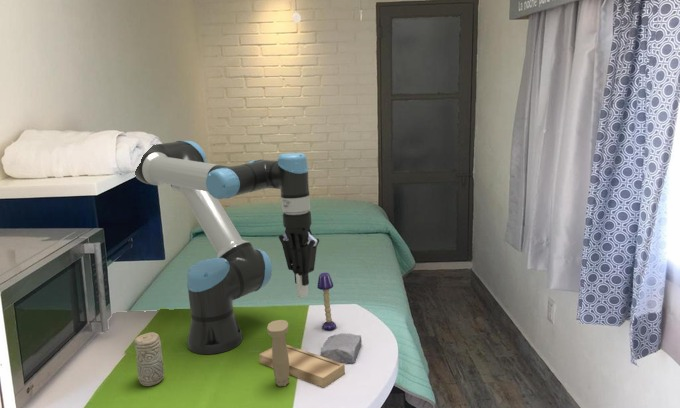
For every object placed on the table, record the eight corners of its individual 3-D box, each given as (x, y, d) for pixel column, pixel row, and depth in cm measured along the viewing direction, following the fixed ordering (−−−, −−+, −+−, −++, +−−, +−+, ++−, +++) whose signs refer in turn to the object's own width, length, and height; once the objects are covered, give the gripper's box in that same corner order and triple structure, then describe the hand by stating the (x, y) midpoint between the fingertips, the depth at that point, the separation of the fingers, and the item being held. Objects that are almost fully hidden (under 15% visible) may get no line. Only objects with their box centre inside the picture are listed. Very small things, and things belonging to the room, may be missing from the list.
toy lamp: (321, 332, 162) (318, 277, 159) (318, 325, 167) (315, 272, 163) (338, 329, 163) (334, 275, 160) (334, 323, 168) (331, 270, 165)
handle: (271, 391, 132) (265, 332, 129) (273, 377, 138) (269, 320, 135) (291, 390, 132) (286, 330, 129) (293, 376, 138) (289, 319, 135)
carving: (142, 391, 135) (136, 345, 132) (135, 379, 141) (129, 334, 139) (169, 383, 138) (163, 338, 136) (161, 371, 144) (155, 327, 142)
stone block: (320, 370, 145) (357, 364, 142) (315, 352, 144) (352, 346, 142) (330, 350, 156) (364, 345, 154) (326, 334, 155) (360, 328, 153)
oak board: (259, 363, 146) (259, 353, 145) (281, 351, 152) (280, 342, 151) (323, 387, 132) (323, 377, 132) (344, 373, 138) (344, 363, 138)
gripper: (269, 212, 150) (276, 295, 155) (305, 216, 142) (311, 304, 146) (288, 206, 156) (295, 287, 160) (324, 211, 147) (329, 295, 152)
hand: (302, 295), depth 153 cm, fingers closed
